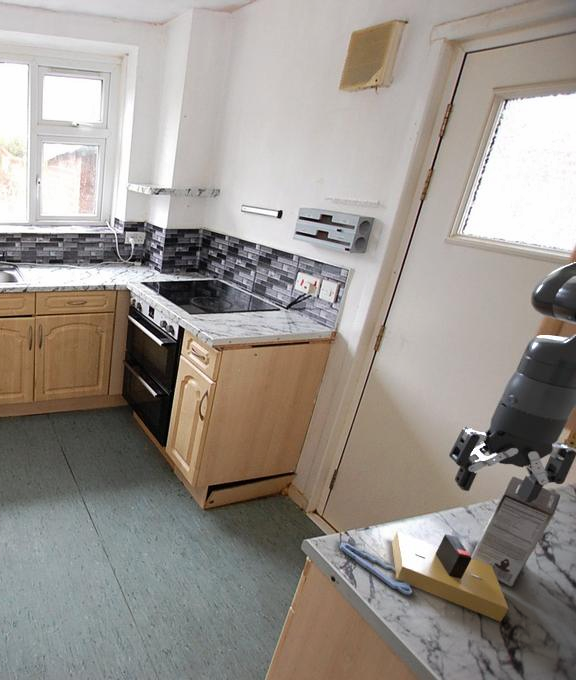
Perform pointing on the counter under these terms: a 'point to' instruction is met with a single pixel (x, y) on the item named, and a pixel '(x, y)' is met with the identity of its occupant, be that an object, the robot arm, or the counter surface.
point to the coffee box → (514, 531)
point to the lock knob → (453, 556)
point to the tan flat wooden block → (448, 577)
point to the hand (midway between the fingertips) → (492, 493)
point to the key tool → (397, 585)
